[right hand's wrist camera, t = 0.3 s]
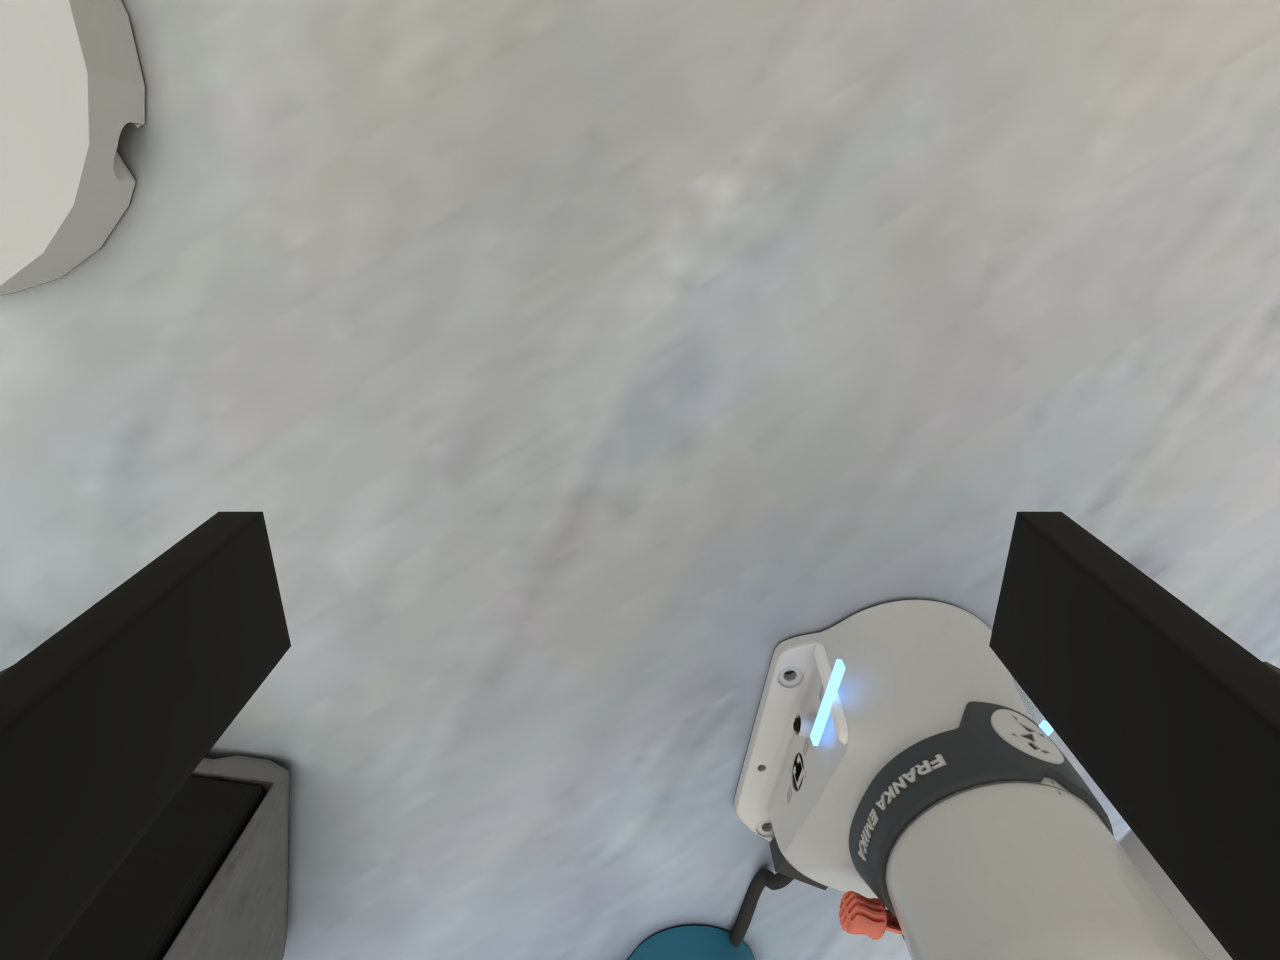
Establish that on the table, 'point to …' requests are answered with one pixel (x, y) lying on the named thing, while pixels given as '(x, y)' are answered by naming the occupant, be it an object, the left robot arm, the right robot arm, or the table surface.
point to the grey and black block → (199, 875)
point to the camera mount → (691, 945)
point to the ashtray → (63, 133)
